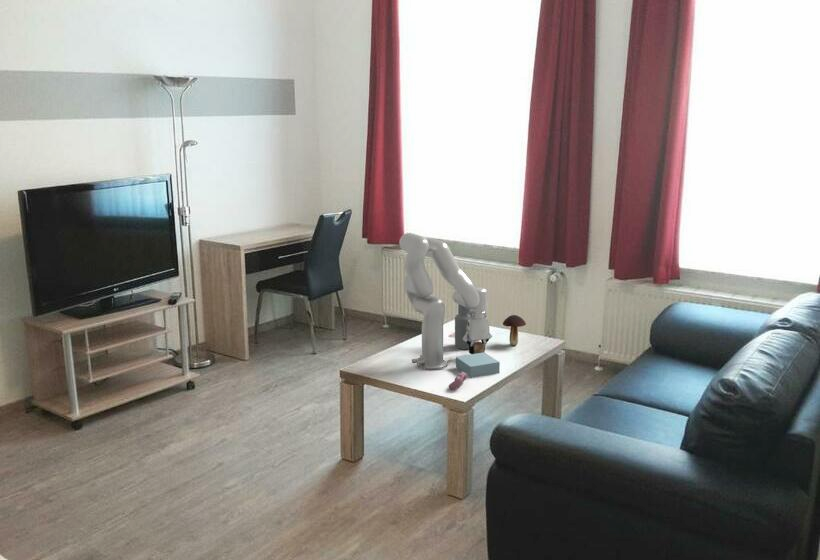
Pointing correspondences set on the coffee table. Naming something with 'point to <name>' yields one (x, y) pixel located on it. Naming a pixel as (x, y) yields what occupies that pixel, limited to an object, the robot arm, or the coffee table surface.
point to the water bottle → (461, 327)
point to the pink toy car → (458, 381)
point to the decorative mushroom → (514, 327)
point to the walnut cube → (478, 347)
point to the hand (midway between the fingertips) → (476, 352)
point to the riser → (477, 364)
